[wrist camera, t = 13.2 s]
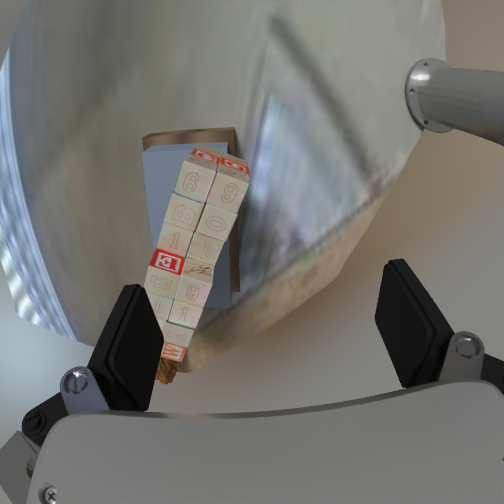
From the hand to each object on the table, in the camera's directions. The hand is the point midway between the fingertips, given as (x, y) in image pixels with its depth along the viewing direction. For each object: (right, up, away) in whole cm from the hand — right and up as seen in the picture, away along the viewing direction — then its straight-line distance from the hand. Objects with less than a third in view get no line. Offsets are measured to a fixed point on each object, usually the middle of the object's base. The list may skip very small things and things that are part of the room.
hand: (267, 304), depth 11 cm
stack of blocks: (-8, +5, +26) cm, 28 cm away
